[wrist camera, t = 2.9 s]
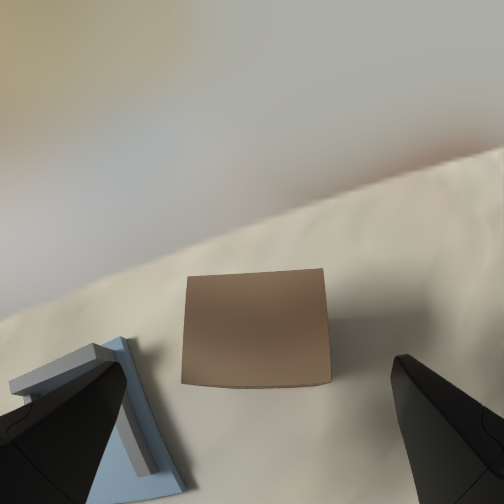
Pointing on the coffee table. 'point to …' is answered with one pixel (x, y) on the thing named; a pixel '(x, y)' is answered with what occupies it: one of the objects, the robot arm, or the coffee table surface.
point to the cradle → (125, 430)
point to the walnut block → (256, 330)
